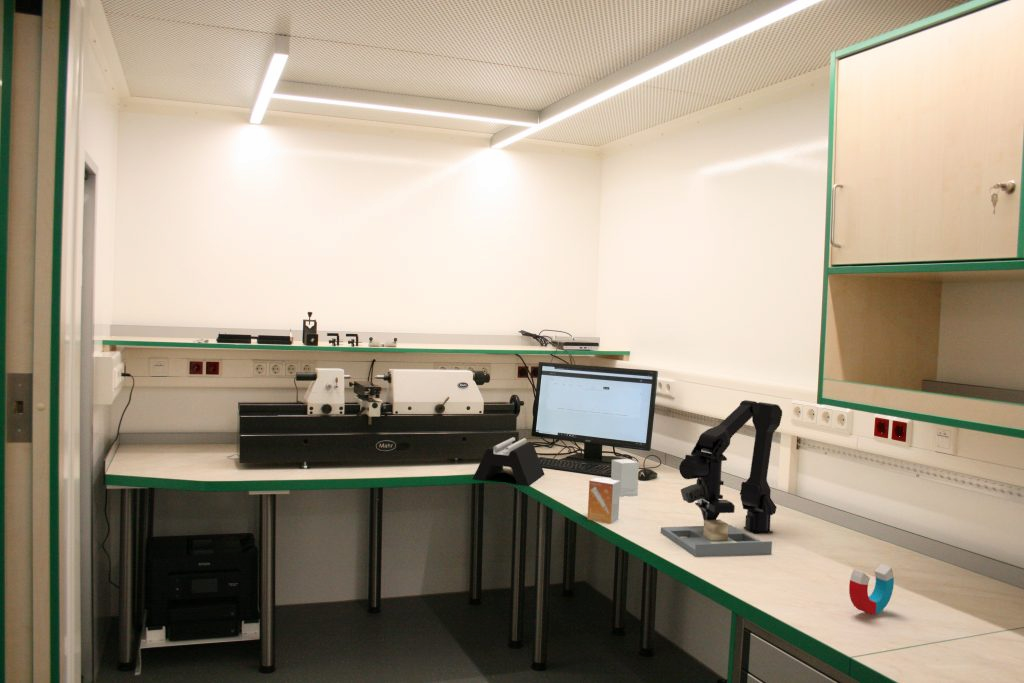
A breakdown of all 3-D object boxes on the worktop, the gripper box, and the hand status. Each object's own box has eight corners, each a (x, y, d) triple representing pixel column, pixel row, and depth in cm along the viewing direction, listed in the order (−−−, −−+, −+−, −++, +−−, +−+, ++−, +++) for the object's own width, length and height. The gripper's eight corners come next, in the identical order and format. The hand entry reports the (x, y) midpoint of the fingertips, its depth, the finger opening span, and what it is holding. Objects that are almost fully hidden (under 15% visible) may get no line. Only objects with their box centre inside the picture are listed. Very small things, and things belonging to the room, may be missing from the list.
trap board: (660, 533, 225) (661, 522, 225) (730, 531, 231) (730, 520, 231) (695, 557, 204) (696, 544, 204) (771, 554, 210) (772, 541, 210)
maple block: (719, 534, 220) (719, 519, 220) (727, 539, 215) (728, 524, 215) (703, 535, 219) (704, 519, 218) (711, 540, 214) (712, 524, 214)
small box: (587, 521, 236) (588, 480, 236) (595, 517, 242) (596, 476, 241) (611, 525, 232) (613, 483, 232) (618, 521, 238) (620, 480, 237)
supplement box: (638, 497, 271) (639, 462, 270) (619, 498, 268) (621, 463, 268) (627, 492, 278) (629, 458, 277) (609, 493, 275) (611, 459, 274)
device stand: (471, 483, 284) (472, 444, 283) (490, 472, 305) (492, 435, 305) (529, 490, 277) (530, 449, 277) (544, 478, 299) (546, 440, 298)
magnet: (881, 606, 174) (884, 563, 173) (892, 610, 171) (895, 566, 171) (847, 614, 168) (849, 569, 168) (858, 618, 166) (860, 573, 165)
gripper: (671, 469, 228) (668, 521, 228) (700, 483, 209) (697, 539, 210) (705, 469, 230) (702, 520, 231) (737, 483, 212) (733, 538, 213)
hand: (707, 529), depth 221 cm, fingers closed
